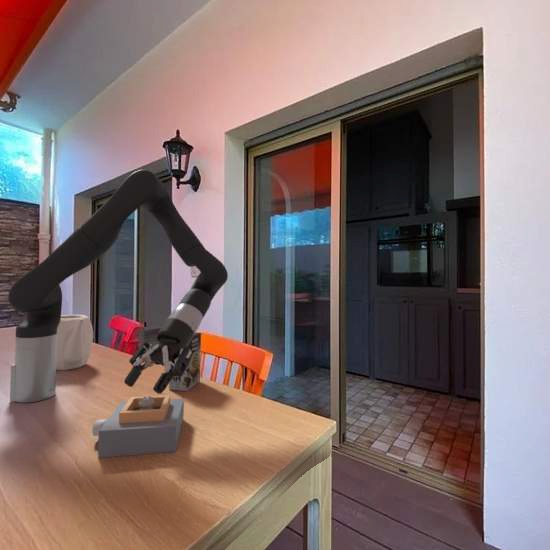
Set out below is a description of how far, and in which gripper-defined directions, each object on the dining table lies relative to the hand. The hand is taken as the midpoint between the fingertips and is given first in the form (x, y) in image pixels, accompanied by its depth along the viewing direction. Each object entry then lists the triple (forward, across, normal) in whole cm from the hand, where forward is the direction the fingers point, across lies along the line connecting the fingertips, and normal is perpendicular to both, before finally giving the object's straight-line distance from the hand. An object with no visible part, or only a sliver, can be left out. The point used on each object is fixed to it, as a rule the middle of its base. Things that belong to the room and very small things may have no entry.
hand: (141, 388), depth 66 cm
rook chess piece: (+7, 0, +9) cm, 11 cm away
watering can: (-9, -64, +24) cm, 70 cm away
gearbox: (+7, -1, +8) cm, 11 cm away
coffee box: (-13, -14, +28) cm, 34 cm away
